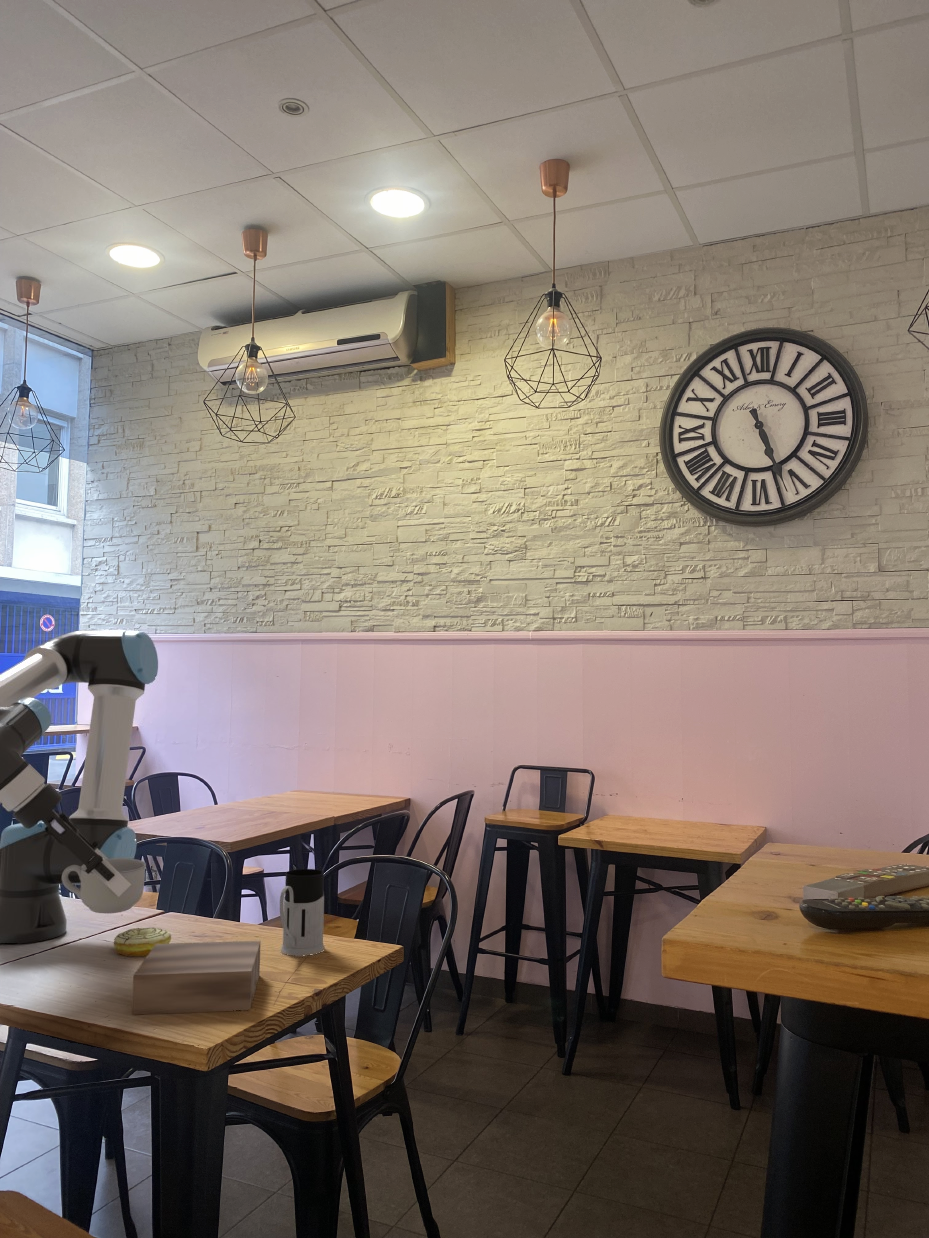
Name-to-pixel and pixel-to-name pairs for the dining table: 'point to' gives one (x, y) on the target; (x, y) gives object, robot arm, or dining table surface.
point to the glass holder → (302, 912)
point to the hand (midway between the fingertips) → (120, 884)
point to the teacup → (100, 894)
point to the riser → (197, 977)
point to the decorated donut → (140, 941)
